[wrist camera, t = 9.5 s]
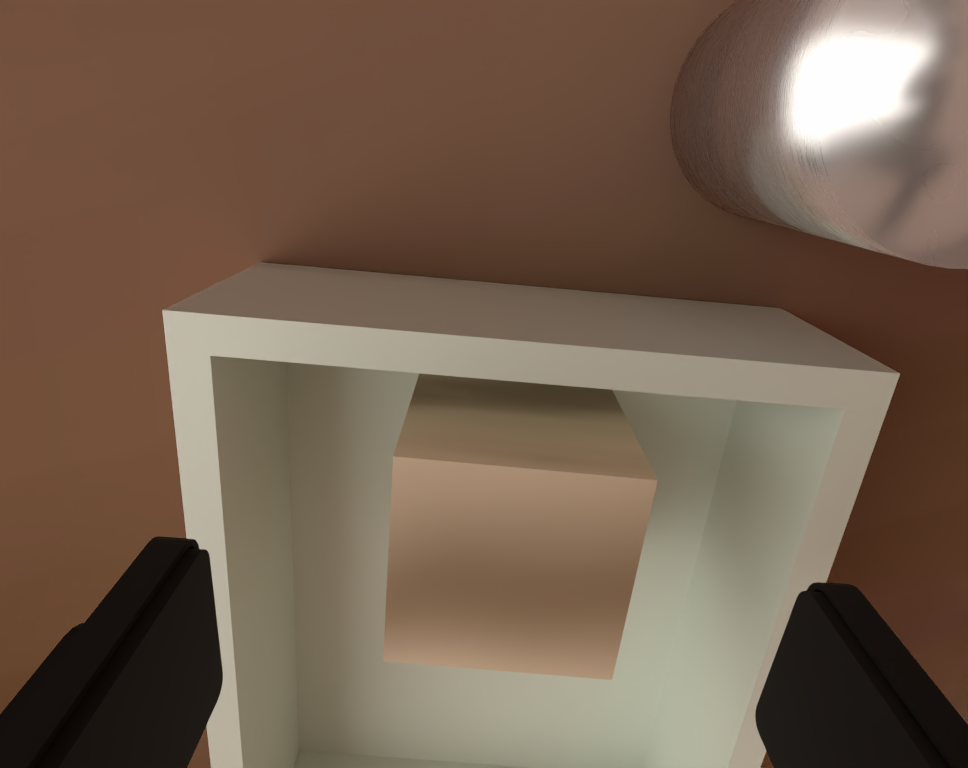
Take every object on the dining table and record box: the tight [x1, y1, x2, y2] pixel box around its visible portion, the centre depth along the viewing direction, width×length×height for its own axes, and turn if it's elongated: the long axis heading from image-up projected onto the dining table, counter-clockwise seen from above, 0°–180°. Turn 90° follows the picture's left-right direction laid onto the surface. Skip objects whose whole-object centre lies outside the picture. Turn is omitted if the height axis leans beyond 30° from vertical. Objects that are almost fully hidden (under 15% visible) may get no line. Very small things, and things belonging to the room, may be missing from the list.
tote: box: [162, 262, 900, 768], centre depth 17 cm, size 18×14×5 cm
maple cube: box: [383, 373, 658, 680], centre depth 15 cm, size 5×5×5 cm
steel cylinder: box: [670, 0, 968, 269], centre depth 11 cm, size 5×5×7 cm
